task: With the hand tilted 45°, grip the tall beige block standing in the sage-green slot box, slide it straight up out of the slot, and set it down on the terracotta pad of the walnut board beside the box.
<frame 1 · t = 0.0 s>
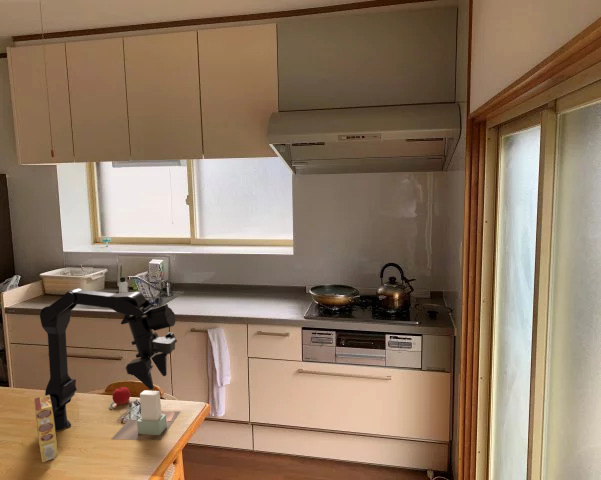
hand: (158, 382, 136), 15 cm above the table, tool pointing down, fingers open, 9 cm apart
slot box: (152, 424, 136), on the walnut board, point 3 cm above the table
tall beige block: (151, 411, 135), in the slot box, point 7 cm above the table, touching walnut board
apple: (122, 405, 155), on the table
walnut board: (148, 427, 140), on the table
candy box: (48, 453, 128), on the table
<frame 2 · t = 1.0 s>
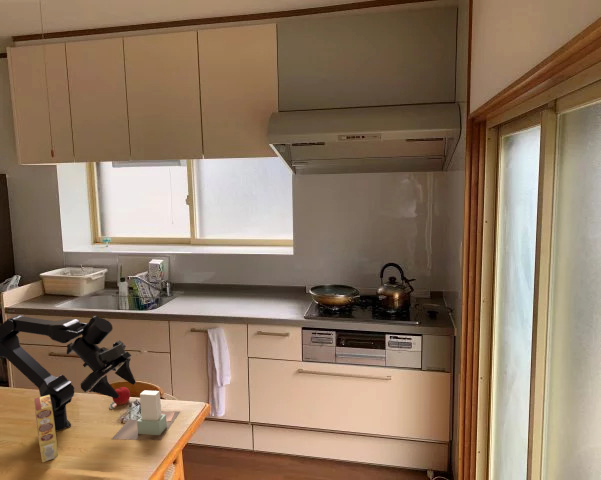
hand: (126, 390, 136), 13 cm above the table, tool tilted 45°, fingers open, 9 cm apart
nothing on the table moved.
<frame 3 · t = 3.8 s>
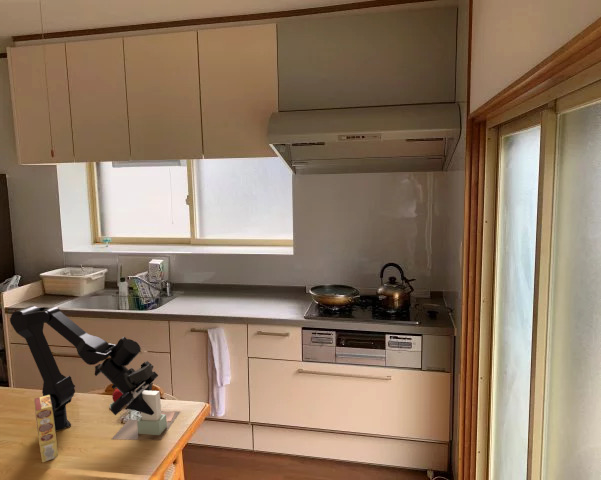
hand: (155, 411, 135), 7 cm above the table, tool tilted 45°, fingers closed on tall beige block, 3 cm apart
tall beige block: (151, 411, 135), in the slot box, point 7 cm above the table, touching gripper, walnut board
everything else where it was.
when the fingers open (8 cm above the table, at t = 8.0 s): tall beige block drops 1 cm, resting on walnut board.
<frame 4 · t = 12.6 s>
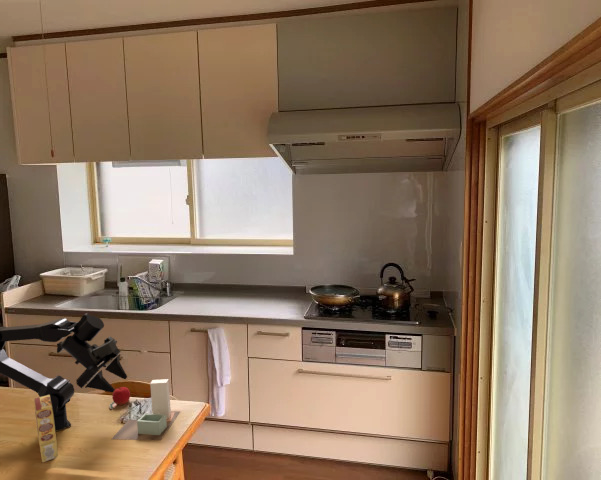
hand: (120, 384, 139), 14 cm above the table, tool tilted 45°, fingers open, 9 cm apart
tall beige block: (160, 399, 143), on the walnut board, point 7 cm above the table
everything else where it was.
at the end: tall beige block inside the target area (0.0 cm from its centre), point 7.2 cm above the table; tall beige block point 7.2 cm above the table; the gripper is holding nothing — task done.
